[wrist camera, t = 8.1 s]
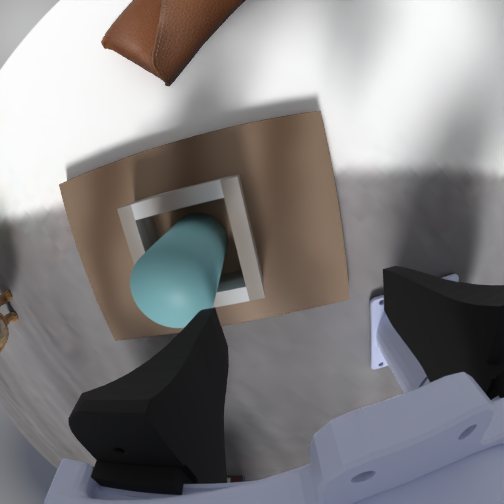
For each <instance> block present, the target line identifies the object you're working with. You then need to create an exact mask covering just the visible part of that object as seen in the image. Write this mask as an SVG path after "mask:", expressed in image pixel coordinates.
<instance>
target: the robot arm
mask: <svg viewBox="0 0 504 504" xmlns="http://www.w3.org/2000/svg"><path fill="white" fill-rule="evenodd" d="M458 281H459V277H458V275H456V274H451V275H448V276H445V277H442V278H439V277H435V276H432V275H428V274H425V273H421V272H418V271H415V270H411V269H408V268H404V267H399V266H394V267H390V268H386V269H383V283H384V295H381V296H377V297H374V298H372V299H371V301H370V332H371V360H370V365H371V368H372V369H378V368H381V367H385V366H389V367H390V369H391V371H392V372H393V374H394V376H395V378H396V379H397V381H398V383H399V385H400V386H401V388H402V390H403V392H404V394H401V395H398V396H395V397H393V398H390V399H387V400H384V401H381V402H378V403H375V404H372V405H369V406H366V407H362V408H359V409H356V410H353V411H350V412H348V413H346V414H344V415H341V416H339V417H337V418H334V419H332V420H331V421H330V422H328V423H327V424H326V425H325V426H324V427H322V428H321V429H320V430H319V431H317V432H316V433H315V434H314V435H313V438H312V441H311V444H310V447H309V451H310V457H311V463H310V464H307V465H305V466H302V467H299V468H296V469H293V470H290V471H287V472H284V473H281V474H278V475H274V476H271V477H268V478H264V479H261V480H256V481H246V482H234V483H227V475H226V463H225V448H224V403H225V394H226V385H227V376H228V366H229V364H228V345H227V342H226V339H225V336H224V333H223V330H222V327H221V324H220V321H219V318H218V315H217V312H216V309H215V307H214V308H209V309H203V310H200V311H199V312H198V313H197V314H196V315H195V316H194V318H193V319H192V320H191V321H190V322H189V323H188V324H187V325H186V326H185V327H184V329H183V330H182V331H181V332H180V333H179V334H178V335H177V336H176V337H175V338H174V339H173V340H172V341H171V342H170V343H169V344H168V345H167V346H166V347H165V348H163V349H162V350H161V351H160V352H159V353H158V354H156V355H155V356H154V357H152V358H151V359H150V360H149V361H147V362H146V363H144V364H143V365H141V366H140V367H138V368H136V369H135V370H133V371H132V372H130V373H128V374H127V375H125V376H123V377H121V378H119V379H117V380H115V381H113V382H111V383H108V384H106V385H104V386H101V387H98V388H96V389H93V390H90V391H88V392H85V393H82V394H81V396H80V398H79V400H78V402H77V403H76V405H75V407H74V409H73V411H72V413H71V415H70V417H69V426H70V429H71V431H72V433H73V434H74V435H75V437H76V438H77V439H78V441H79V442H80V443H81V444H82V445H83V446H84V447H85V448H86V449H87V450H88V451H89V452H90V453H91V455H92V456H93V457H94V458H95V459H96V460H97V461H96V464H95V467H93V466H91V465H89V464H87V463H84V462H78V461H73V460H69V459H62V461H61V463H60V465H59V467H58V470H57V472H56V474H55V477H54V479H53V481H52V484H51V486H50V489H49V491H48V493H47V496H46V499H45V501H44V504H504V285H477V284H469V283H462V282H458ZM381 300H383V301H382V303H379V302H380V301H381ZM381 362H382V363H381ZM379 363H380V364H379Z"/></svg>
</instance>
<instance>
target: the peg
mask: <svg viewBox="0 0 504 504" xmlns="http://www.w3.org/2000/svg"><path fill="white" fill-rule="evenodd" d="M227 244H228V239H227V234H226V231H225V229H224V227H223V225H222V224H221V223H220V222H219V221H218V220H217V219H216V218H214V217H213V216H211V215H208V214H205V213H192V214H188V215H186V216H184V217H183V218H181V219H180V220H179V221H178V222H177V223H176V224H175V225H174V226H173V227H171V228H170V229H169V230H168V231H167V232H166V233H165V234H164V235H163V236H162V237H161V238H160V239H159V240H158V241H157V242H156V243H155V244H154V245H153V246H152V247H150V248H149V249H148V250H147V251H146V252H145V253H144V254H143V255H142V256H141V257H140V258H139V260H138V261H137V262H136V264H135V265H134V267H133V269H132V273H131V277H130V288H131V293H132V296H133V298H134V301H135V303H136V304H137V306H138V307H139V309H140V310H141V311H142V312H143V313H144V314H145V315H146V316H147V317H148V318H150V319H151V320H152V321H154V322H156V323H158V324H160V325H163V326H166V327H171V328H184V327H185V326H186V325H187V324H188V323H189V322H190V321H191V320H192V319H193V318H194V316H195V315H196V314H197V313H198V312H199V311H200V310H203V309H209V308H212V307H213V305H214V301H215V297H216V293H217V288H218V284H219V279H220V275H221V271H222V267H223V262H224V258H225V254H226V250H227Z"/></svg>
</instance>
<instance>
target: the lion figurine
mask: <svg viewBox="0 0 504 504" xmlns="http://www.w3.org/2000/svg"><path fill="white" fill-rule="evenodd" d="M11 300H12V295H11V293H10V292H9V290H6V291H5V292H4V293H2V294H1V295H0V306H1V305H3V304H6V303H7V302H8V301H11ZM11 320H12V321H13V322H17V321H18V316H17V314H16V313H14V312H10V313H8V314H7V315H5V316H3V315H2V314H1V313H0V353H1V351H2V350H3V349H4V346H5V344H6V342H7V340H8V336H9V332H8V327H7V325H8V324H9V322H10V321H11Z"/></svg>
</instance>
